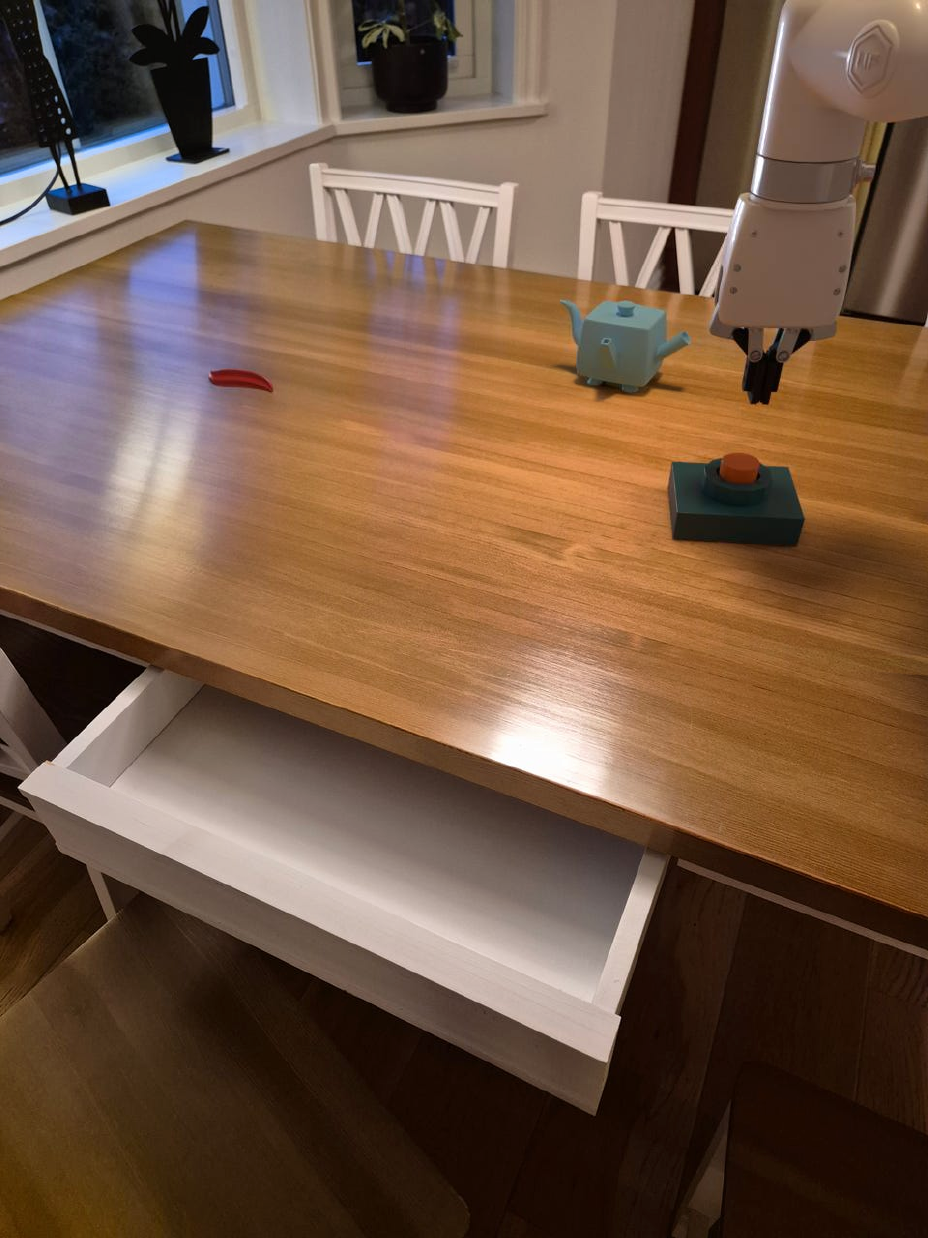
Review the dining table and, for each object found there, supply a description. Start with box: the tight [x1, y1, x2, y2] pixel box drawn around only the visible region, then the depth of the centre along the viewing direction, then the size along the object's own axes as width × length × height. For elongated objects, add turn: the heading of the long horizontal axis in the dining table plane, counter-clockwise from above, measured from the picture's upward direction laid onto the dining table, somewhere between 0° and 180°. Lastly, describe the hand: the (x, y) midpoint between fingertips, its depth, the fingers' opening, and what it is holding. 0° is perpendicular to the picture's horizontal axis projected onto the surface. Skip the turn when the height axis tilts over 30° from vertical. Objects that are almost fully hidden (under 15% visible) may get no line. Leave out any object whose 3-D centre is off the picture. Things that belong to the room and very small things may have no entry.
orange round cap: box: [719, 452, 761, 484], centre depth 82 cm, size 4×4×2 cm
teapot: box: [559, 299, 692, 393], centre depth 108 cm, size 18×14×10 cm
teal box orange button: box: [667, 457, 806, 547], centre depth 84 cm, size 12×10×5 cm
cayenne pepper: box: [208, 368, 274, 393], centre depth 113 cm, size 12×5×2 cm, turn 50°
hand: (757, 397), depth 77 cm, fingers closed
